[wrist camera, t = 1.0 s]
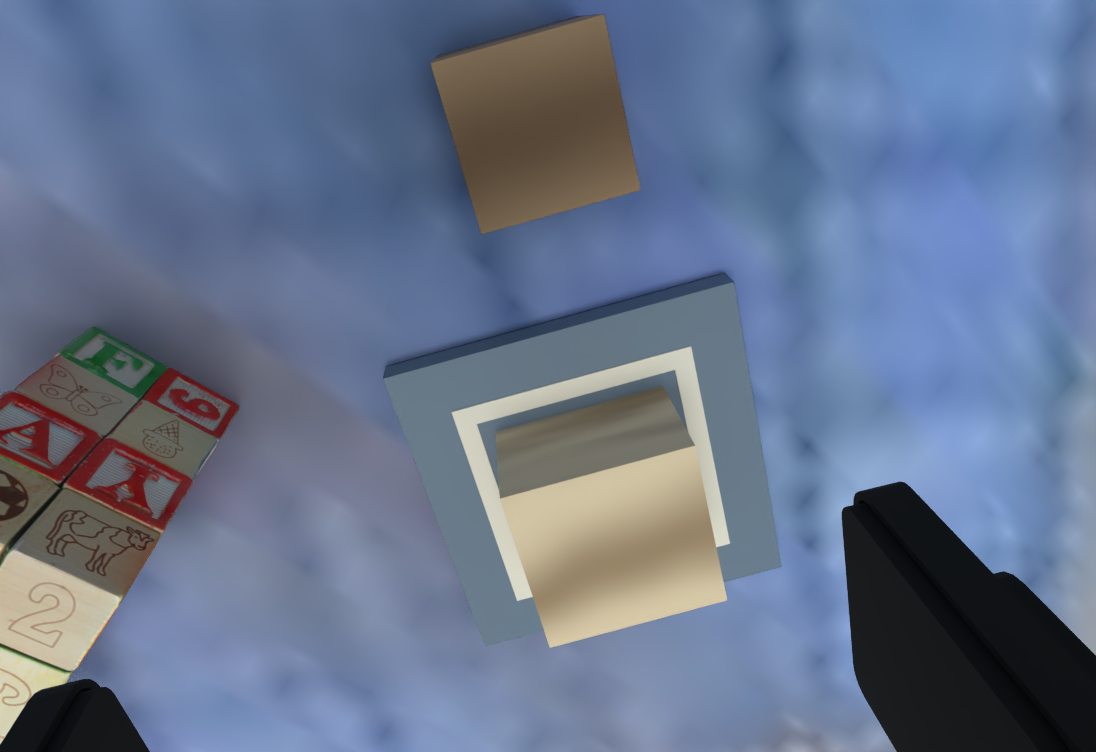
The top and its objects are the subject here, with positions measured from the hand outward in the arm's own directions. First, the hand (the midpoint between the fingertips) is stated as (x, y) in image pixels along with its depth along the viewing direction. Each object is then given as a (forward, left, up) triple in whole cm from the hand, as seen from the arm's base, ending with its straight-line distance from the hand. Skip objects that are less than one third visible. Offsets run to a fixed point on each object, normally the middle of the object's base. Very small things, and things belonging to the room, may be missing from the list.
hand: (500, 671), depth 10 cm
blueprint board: (+11, +2, -22) cm, 25 cm away
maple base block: (+11, +2, -21) cm, 24 cm away
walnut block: (-4, +3, -22) cm, 23 cm away
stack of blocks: (+8, -21, -23) cm, 32 cm away
